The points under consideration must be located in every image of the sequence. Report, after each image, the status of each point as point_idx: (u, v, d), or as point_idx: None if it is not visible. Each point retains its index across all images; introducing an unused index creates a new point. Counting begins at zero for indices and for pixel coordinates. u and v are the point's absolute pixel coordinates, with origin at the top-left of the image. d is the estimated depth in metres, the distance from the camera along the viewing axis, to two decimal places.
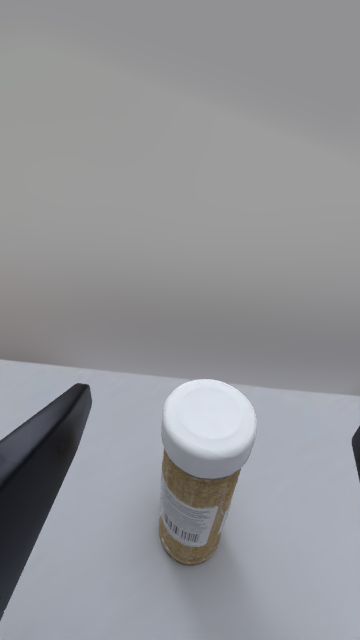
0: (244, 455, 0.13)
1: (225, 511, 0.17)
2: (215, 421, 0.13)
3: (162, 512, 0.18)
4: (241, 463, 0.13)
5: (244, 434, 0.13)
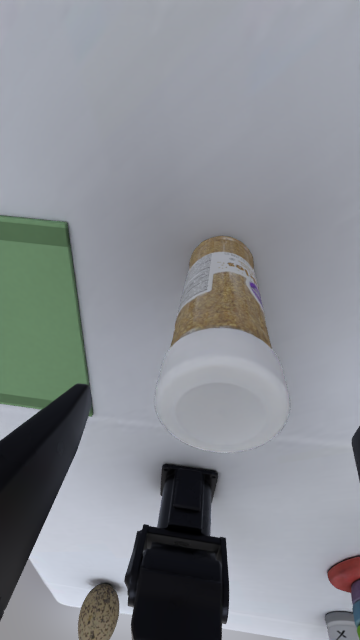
0: None
1: None
2: (225, 426, 0.10)
3: None
4: None
5: (261, 440, 0.10)
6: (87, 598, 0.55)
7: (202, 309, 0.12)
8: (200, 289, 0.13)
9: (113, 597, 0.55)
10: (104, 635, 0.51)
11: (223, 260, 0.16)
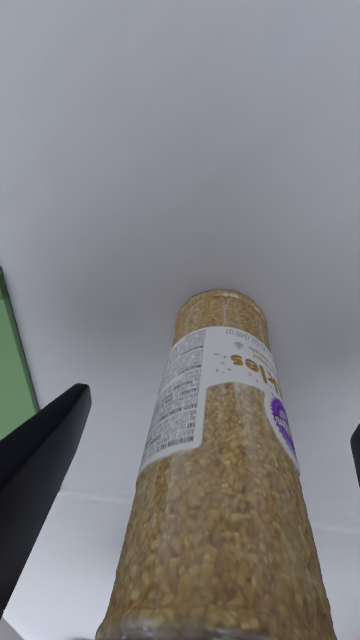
0: None
1: None
2: None
3: None
4: None
5: None
6: None
7: (180, 516, 0.05)
8: (182, 431, 0.07)
9: None
10: None
11: (225, 350, 0.09)
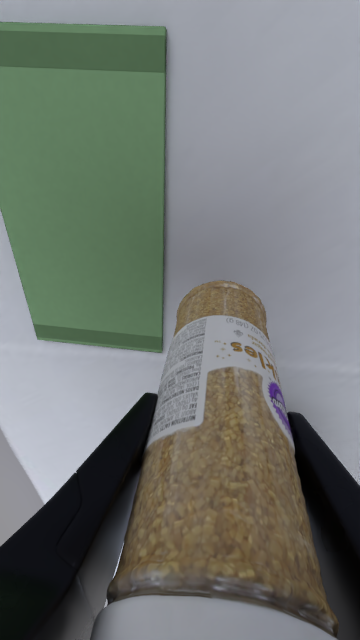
0: None
1: None
2: None
3: None
4: None
5: None
6: None
7: (183, 485, 0.06)
8: (184, 412, 0.08)
9: None
10: None
11: (225, 338, 0.10)
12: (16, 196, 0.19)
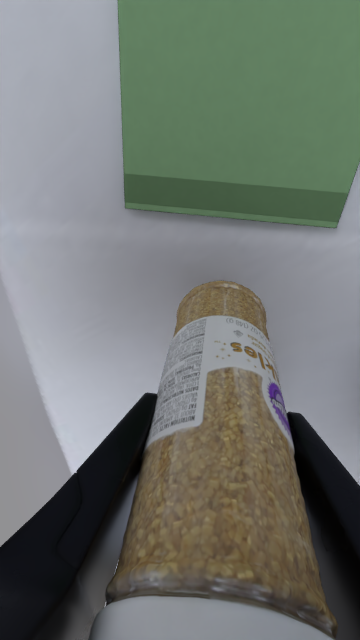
0: None
1: None
2: None
3: None
4: None
5: None
6: None
7: (182, 485, 0.06)
8: (183, 412, 0.07)
9: None
10: None
11: (225, 338, 0.10)
12: None
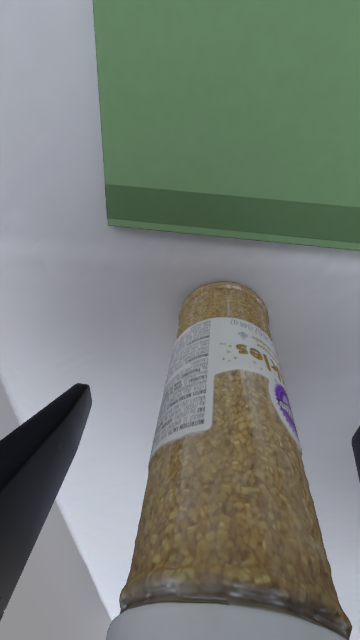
0: None
1: None
2: None
3: None
4: None
5: None
6: None
7: (195, 490, 0.06)
8: (192, 415, 0.08)
9: None
10: None
11: (230, 340, 0.10)
12: None
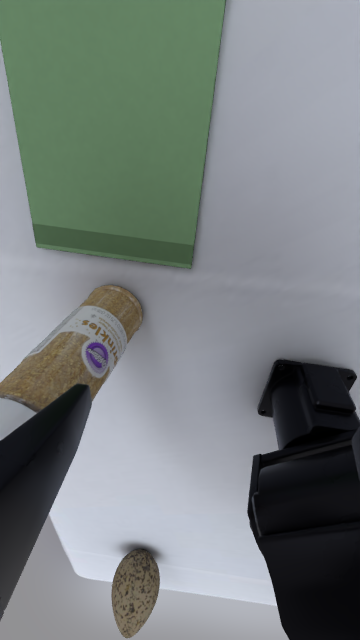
0: None
1: None
2: None
3: None
4: None
5: None
6: (122, 565, 0.45)
7: (16, 372, 0.14)
8: (37, 348, 0.15)
9: (153, 564, 0.46)
10: (146, 609, 0.41)
11: (82, 318, 0.18)
12: (22, 13, 0.14)
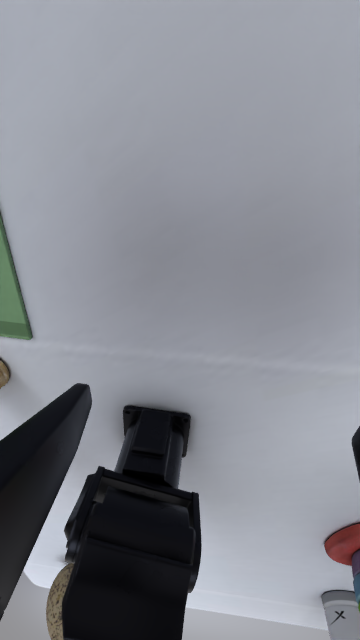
0: None
1: None
2: None
3: None
4: None
5: None
6: (58, 576, 0.49)
7: None
8: None
9: None
10: None
11: None
12: None
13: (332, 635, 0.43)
